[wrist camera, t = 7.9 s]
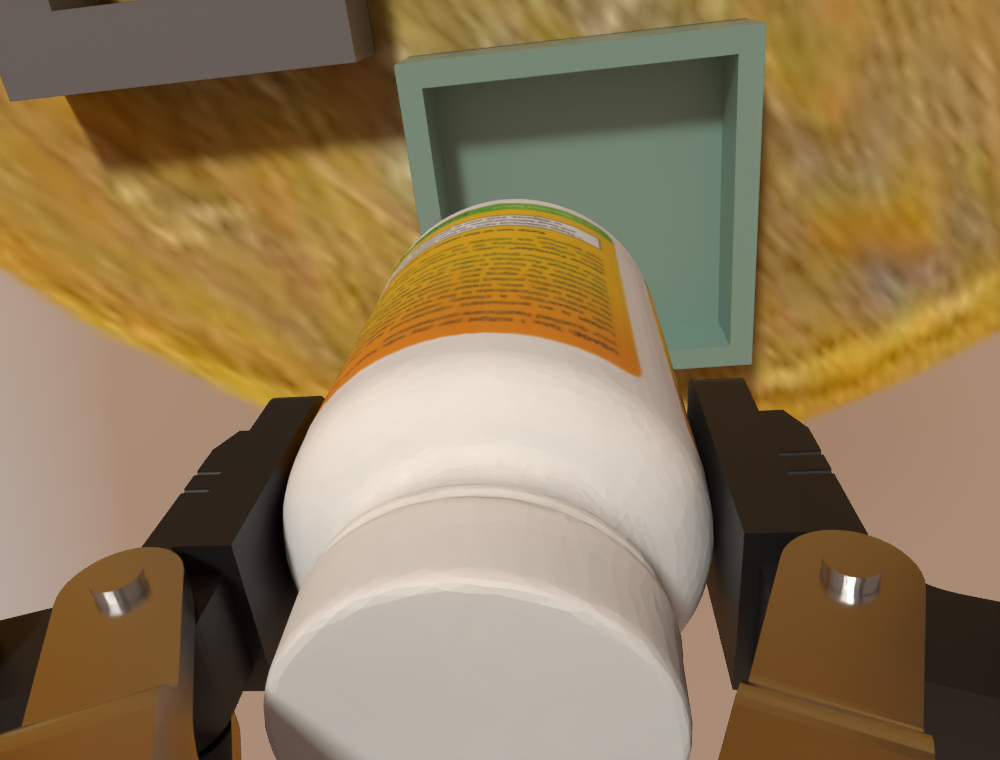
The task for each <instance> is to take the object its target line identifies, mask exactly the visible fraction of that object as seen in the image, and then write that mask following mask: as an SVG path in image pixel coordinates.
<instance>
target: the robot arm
mask: <svg viewBox="0 0 1000 760" xmlns="http://www.w3.org/2000/svg"><path fill="white" fill-rule="evenodd" d="M324 400H325V399H324V398H323V397H322V396H308V397H285V398H273V399H271V400H270V401H269V403H268V404H267V406H266V407H265V409H264V410H263V412H262V413H261V414H260V416H259V418H258V419H257V420H256V422H255V423H254V425H253V426H252V428H251V429H250V431H239V432H237V433H236V434H235V435H233V436H232V437H230V438H229V439H228V440H226V441H225V442H223V443H222V444H221V445H219V446H218V447H216V448H215V449H213V450H212V452H211V453H210V455H209V456H208V458H207V459H206V460H205V461H204V463H203V464H202V466H201V467H200V468H199V470H198V471H197V473H198V474H197V475H195V476H193V478H192V479H191V481H190V482H189V483H188V485H187V486H186V487H185V489H184V490H185V492H184V493H182V494H180V496H179V497H178V498H177V500H176V501H175V502H174V504H173V505H172V506H171V508H170V509H169V511H168V512H167V513H166V515H165V516H164V517H163V519H162V520H161V521H160V523H159V524H158V526H157V527H156V528H155V530H154V531H153V532H152V534H151V535H150V537H149V538H148V539H147V541H146V542H145V543H144V545H143V546H142V547H141V548H135V549H130V550H126V551H122V552H119V553H116V554H113V555H110V556H108V557H105V558H103V559H101V560H99V561H97V562H95V563H93V564H92V565H90V566H88V567H87V568H85V569H83V570H82V571H81V572H79V573H78V574H77V575H75V576H74V577H73V578H72V579H71V580H70V581H69V582H68V583H67V584H66V585H65V586H64V587H63V588H62V590H61V591H60V593H59V594H58V596H57V597H56V600H55V602H54V605H53V608H50V609H46V610H42V611H38V612H33V613H29V614H26V615H21V616H17V617H13V618H9V619H5V620H0V760H241V738H240V727H239V723H238V721H237V718H236V715H235V712H234V710H235V708H236V706H237V704H238V701H239V699H240V697H241V694H242V692H243V691H265V686H266V681H267V677H268V673H269V670H270V667H271V664H272V662H273V659H274V656H275V654H276V651H277V649H278V646H279V643H280V641H281V638H282V635H283V633H284V630H285V627H286V625H287V622H288V619H289V617H290V614H291V611H292V609H293V606H294V603H295V601H296V598H297V596H298V591H297V588H296V586H295V583H294V581H293V578H292V575H291V572H290V569H289V565H288V562H287V558H286V551H285V544H284V537H283V505H284V499H285V493H286V488H287V484H288V480H289V476H290V473H291V470H292V467H293V464H294V461H295V459H296V456H297V454H298V452H299V450H300V447H301V445H302V443H303V441H304V439H305V436H306V434H307V431H308V429H309V427H310V425H311V423H312V422H313V420H314V418H315V416H316V415H317V413H318V411H319V409H320V407H321V405H322V404H323V402H324ZM687 416H688V420H689V423H690V426H691V429H692V433H693V436H694V439H695V443H696V446H697V449H698V452H699V455H700V458H701V461H702V465H703V468H704V472H705V477H706V481H707V486H708V492H709V497H710V502H711V507H712V513H713V555H712V562H711V567H710V571H709V576H708V580H707V587H708V590H709V595H710V599H711V603H712V607H713V611H714V615H715V619H716V623H717V627H718V631H719V635H720V639H721V644H722V648H723V652H724V656H725V660H726V664H727V667H728V672H729V676H730V680H731V684H732V688H733V690H737V693H736V696H735V700H734V704H733V707H732V711H731V715H730V718H729V722H728V726H727V729H726V733H725V737H724V741H723V744H722V748H721V752H720V756H719V759H718V760H1000V602H998V601H993V600H988V599H982V598H978V597H972V596H967V595H962V594H958V593H954V592H949V591H945V590H942V589H939V588H936V587H933V586H930V585H928V584H926V583H925V579H924V577H923V575H922V572H921V571H920V569H919V568H918V566H917V565H916V564H915V563H914V562H913V561H912V560H911V559H910V558H909V557H908V556H907V555H906V554H904V553H903V552H902V551H901V550H899V549H897V548H895V547H894V546H892V545H891V544H889V543H887V542H884V541H882V540H880V539H877V538H875V537H872V536H869V535H868V533H867V532H866V530H865V528H864V526H863V525H862V523H861V521H860V519H859V517H858V516H857V514H856V512H855V510H854V508H853V507H852V505H851V503H850V501H849V500H848V498H847V496H846V494H845V492H844V491H843V489H842V487H841V485H840V483H839V482H838V480H837V478H836V476H835V474H832V473H831V467H830V465H829V464H828V462H827V460H826V458H825V457H824V455H821V449H820V448H819V446H818V444H817V442H816V440H815V439H814V437H813V435H812V433H811V432H810V430H809V428H808V427H806V426H805V425H803V424H802V423H801V422H799V421H798V420H796V419H795V418H794V417H792V416H791V415H789V414H788V413H787V412H785V411H784V410H768V411H759V410H758V408H757V406H756V404H755V402H754V400H753V397H752V395H751V393H750V391H749V389H748V387H747V385H746V382H745V381H744V379H743V378H731V379H708V380H691V381H690V383H689V389H688V408H687Z"/></svg>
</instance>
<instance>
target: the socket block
mask: <svg viewBox="0 0 1000 760" xmlns="http://www.w3.org/2000/svg"><path fill="white" fill-rule="evenodd" d="M373 55H375V48H374V42H373V36H372V30H371V25H370V19H369V13H368V7H367V1H366V0H137V1H129V2H121V3H113V4H106V5H100V4H99V1H98V0H0V76H1V78H2V81H3V84H4V86H5V89H6V92H7V94H8V97H9V100H10V102H12V101H20V100H29V99H38V98H47V97H55V96H64V95H73V94H82V93H91V92H99V91H108V90H117V89H126V88H135V87H143V86H152V85H161V84H170V83H178V82H187V81H196V80H205V79H214V78H222V77H231V76H240V75H249V74H257V73H266V72H275V71H284V70H293V69H301V68H310V67H319V66H328V65H337V64H345V63H354V62H358V61H360V60H363V59H365V58H368V57H370V56H373Z"/></svg>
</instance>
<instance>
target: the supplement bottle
mask: <svg viewBox="0 0 1000 760" xmlns="http://www.w3.org/2000/svg"><path fill="white" fill-rule="evenodd" d="M283 537H284V544H285V551H286V558H287V562H288V565H289V569H290V572H291V575H292V578H293V581H294V583H295V586H296V588H297V591H298V596H297V598H296V601H295V603H294V606H293V609H292V611H291V614H290V617H289V619H288V622H287V625H286V627H285V630H284V633H283V635H282V638H281V641H280V643H279V646H278V649H277V651H276V654H275V656H274V659H273V662H272V664H271V667H270V670H269V673H268V677H267V681H266V686H265V696H264V716H265V728H266V731H267V735H268V739H269V742H270V745H271V748H272V751H273V753H274V755H275V757H276V759H277V760H689V756H690V751H691V746H692V718H691V710H690V704H689V698H688V692H687V685H686V679H685V672H684V665H683V650H682V641H681V634H680V633H681V631H682V630H683V629H684V627H685V626H686V624H687V623H688V621H689V620H690V618H691V617H692V615H693V614H694V612H695V610H696V608H697V606H698V604H699V602H700V599H701V597H702V595H703V592H704V589H705V586H706V583H707V580H708V576H709V571H710V567H711V562H712V555H713V513H712V507H711V502H710V497H709V492H708V486H707V481H706V477H705V472H704V468H703V465H702V461H701V458H700V455H699V452H698V449H697V446H696V443H695V439H694V436H693V433H692V429H691V426H690V423H689V420H688V416H687V413H686V410H685V406H684V403H683V400H682V396H681V393H680V390H679V386H678V383H677V380H676V376H675V373H674V369H673V366H672V362H671V359H670V355H669V352H668V349H667V345H666V342H665V338H664V335H663V332H662V328H661V325H660V321H659V318H658V315H657V311H656V308H655V305H654V302H653V299H652V296H651V293H650V291H649V288H648V286H647V284H646V282H645V280H644V278H643V275H642V273H641V271H640V269H639V268H638V266H637V264H636V263H635V261H634V259H633V258H632V256H631V255H630V254H629V252H628V251H627V250H626V249H625V248H624V247H623V246H622V244H621V243H620V242H619V241H618V240H617V239H616V238H615V237H614V236H613V235H612V234H610V233H609V232H608V231H607V230H605V229H604V228H603V227H602V226H600V225H599V224H597V223H595V222H594V221H592V220H590V219H589V218H587V217H585V216H583V215H581V214H579V213H577V212H575V211H572V210H570V209H567V208H564V207H561V206H559V205H555V204H552V203H547V202H542V201H537V200H528V199H505V200H496V201H489V202H485V203H481V204H478V205H475V206H472V207H469V208H466V209H463V210H461V211H459V212H457V213H455V214H453V215H450V216H449V217H447V218H445V219H444V220H442V221H440V222H439V223H437V224H436V225H435V226H433V227H432V228H430V229H429V230H428V231H427V232H425V233H424V234H423V235H422V236H421V237H420V238H419V239H418V240H417V241H416V242H415V243H414V244H413V245H412V247H411V248H410V249H409V250H408V251H407V253H406V254H405V256H404V257H403V258H402V260H401V261H400V263H399V264H398V266H397V267H396V269H395V270H394V272H393V274H392V276H391V278H390V279H389V281H388V283H387V284H386V286H385V288H384V290H383V292H382V294H381V296H380V298H379V300H378V302H377V304H376V306H375V308H374V310H373V312H372V313H371V315H370V317H369V319H368V321H367V323H366V324H365V326H364V328H363V330H362V332H361V334H360V335H359V337H358V339H357V341H356V343H355V345H354V347H353V349H352V351H351V352H350V354H349V356H348V358H347V360H346V362H345V363H344V365H343V367H342V369H341V371H340V373H339V374H338V376H337V378H336V380H335V382H334V384H333V385H332V387H331V389H330V391H329V393H328V394H327V396H326V398H325V400H324V402H323V404H322V405H321V407H320V409H319V411H318V413H317V415H316V416H315V418H314V420H313V422H312V423H311V425H310V427H309V429H308V431H307V434H306V436H305V439H304V441H303V443H302V445H301V447H300V450H299V452H298V454H297V456H296V459H295V461H294V464H293V467H292V470H291V473H290V476H289V480H288V484H287V488H286V493H285V499H284V505H283Z"/></svg>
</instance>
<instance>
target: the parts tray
mask: <svg viewBox="0 0 1000 760" xmlns="http://www.w3.org/2000/svg"><path fill="white" fill-rule="evenodd" d="M765 45H766V23H765V22H760V21H755V20H750V19H736V20H727V21H718V22H710V23H701V24H692V25H683V26H675V27H666V28H657V29H648V30H639V31H631V32H622V33H613V34H604V35H595V36H587V37H578V38H569V39H560V40H551V41H543V42H534V43H525V44H516V45H508V46H499V47H490V48H481V49H472V50H464V51H455V52H446V53H437V54H428V55H420V56H411V57H408V58H406V59H404V60H402V61H400V62H398V63H396V64H394V70H395V76H396V82H397V89H398V95H399V101H400V107H401V114H402V120H403V126H404V133H405V139H406V145H407V152H408V158H409V164H410V170H411V177H412V183H413V189H414V196H415V202H416V208H417V214H418V221H419V227H420V233H421V236H422V235H423V234H424V233H425V232H427V231H428V230H429V229H430V228H432V227H433V226H435V225H436V224H437V223H439V222H440V221H442V220H444V219H445V218H447V217H449V216H450V215H453V214H455V213H457V212H459V211H461V210H463V209H466V208H469V207H472V206H475V205H478V204H481V203H485V202H489V201H496V200H505V199H528V200H537V201H542V202H547V203H552V204H555V205H559V206H561V207H564V208H567V209H570V210H572V211H575V212H577V213H579V214H581V215H583V216H585V217H587V218H589V219H590V220H592V221H594V222H595V223H597V224H599V225H600V226H602V227H603V228H604V229H605V230H607V231H608V232H609V233H610V234H612V235H613V236H614V237H615V238H616V239H617V240H618V241H619V242H620V243H621V244H622V246H623V247H624V248H625V249H626V250H627V251H628V252H629V254H630V255H631V256H632V258H633V259H634V261H635V263H636V264H637V266H638V268H639V269H640V271H641V273H642V275H643V278H644V280H645V282H646V284H647V286H648V288H649V291H650V293H651V296H652V299H653V302H654V305H655V308H656V311H657V315H658V318H659V321H660V325H661V328H662V332H663V335H664V338H665V342H666V345H667V349H668V352H669V355H670V359H671V362H672V366H673V369H689V368H704V367H719V366H734V365H748V364H752V347H753V324H754V300H755V277H756V254H757V231H758V208H759V184H760V161H761V138H762V115H763V92H764V68H765Z"/></svg>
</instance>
